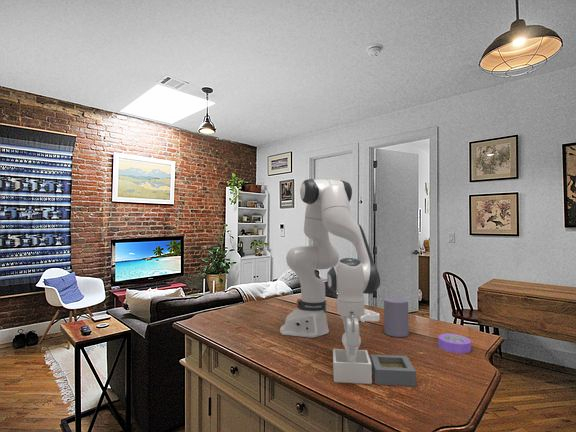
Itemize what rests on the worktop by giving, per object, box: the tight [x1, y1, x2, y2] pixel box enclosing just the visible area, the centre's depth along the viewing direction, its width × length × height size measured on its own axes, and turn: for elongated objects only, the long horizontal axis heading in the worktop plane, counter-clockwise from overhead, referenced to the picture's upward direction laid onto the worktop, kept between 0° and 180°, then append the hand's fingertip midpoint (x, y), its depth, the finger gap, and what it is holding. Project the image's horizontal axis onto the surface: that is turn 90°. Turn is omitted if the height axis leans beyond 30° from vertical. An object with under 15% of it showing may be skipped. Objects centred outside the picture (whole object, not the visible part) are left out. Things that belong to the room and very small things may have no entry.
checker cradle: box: [370, 354, 417, 387], centre depth 108 cm, size 12×12×4 cm
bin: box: [332, 348, 373, 385], centre depth 110 cm, size 12×12×6 cm
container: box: [383, 297, 410, 338], centre depth 150 cm, size 10×10×15 cm
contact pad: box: [380, 363, 403, 368], centre depth 108 cm, size 7×7×1 cm
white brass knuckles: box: [358, 308, 381, 323], centre depth 176 cm, size 3×18×15 cm
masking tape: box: [437, 333, 472, 354], centre depth 133 cm, size 12×12×4 cm
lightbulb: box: [341, 332, 362, 363], centre depth 110 cm, size 6×6×11 cm
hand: (351, 350), depth 110 cm, fingers closed on lightbulb, 5 cm apart
